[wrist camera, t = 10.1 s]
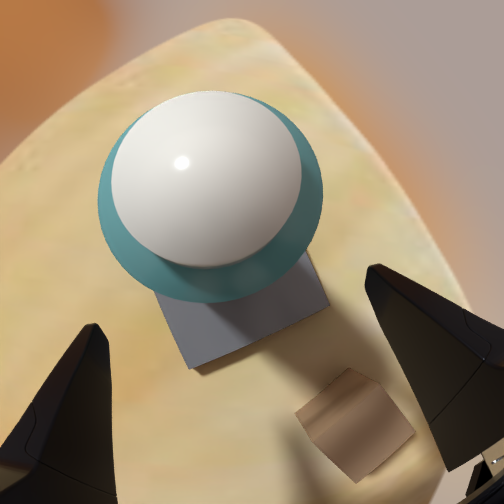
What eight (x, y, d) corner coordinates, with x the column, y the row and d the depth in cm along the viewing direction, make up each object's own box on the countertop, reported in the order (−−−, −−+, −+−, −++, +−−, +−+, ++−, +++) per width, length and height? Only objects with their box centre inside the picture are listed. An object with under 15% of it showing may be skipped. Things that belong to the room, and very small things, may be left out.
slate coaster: (325, 305, 20) (329, 305, 19) (190, 366, 19) (188, 369, 18) (253, 153, 22) (254, 147, 21) (126, 206, 20) (121, 202, 19)
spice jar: (269, 300, 19) (344, 299, 6) (174, 301, 19) (72, 300, 6) (266, 208, 20) (318, 74, 7) (176, 209, 20) (105, 80, 7)
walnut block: (382, 409, 20) (415, 431, 15) (332, 452, 19) (356, 483, 14) (348, 367, 20) (379, 383, 15) (294, 412, 19) (312, 442, 14)
